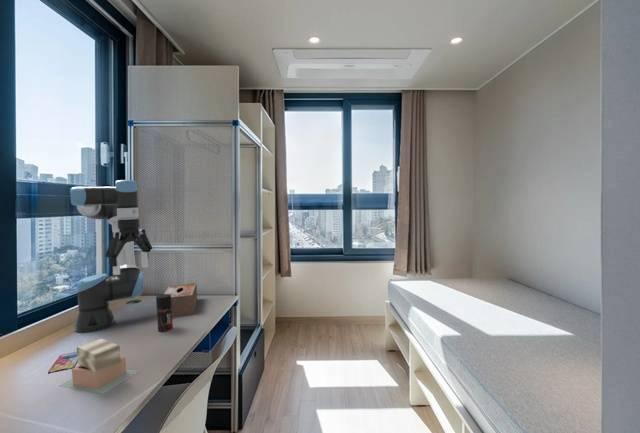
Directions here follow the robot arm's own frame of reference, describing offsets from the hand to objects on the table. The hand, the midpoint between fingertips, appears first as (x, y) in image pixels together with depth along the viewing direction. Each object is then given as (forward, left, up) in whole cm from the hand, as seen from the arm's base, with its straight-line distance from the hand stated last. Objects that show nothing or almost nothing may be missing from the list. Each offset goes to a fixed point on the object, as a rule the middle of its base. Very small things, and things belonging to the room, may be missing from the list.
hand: (131, 270), depth 132 cm
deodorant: (+4, +12, -29) cm, 32 cm away
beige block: (+14, -27, -23) cm, 38 cm away
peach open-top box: (+14, -27, -28) cm, 42 cm away
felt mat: (+14, -27, -29) cm, 42 cm away
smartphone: (-9, -21, -29) cm, 37 cm away
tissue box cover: (-10, +38, -29) cm, 49 cm away
